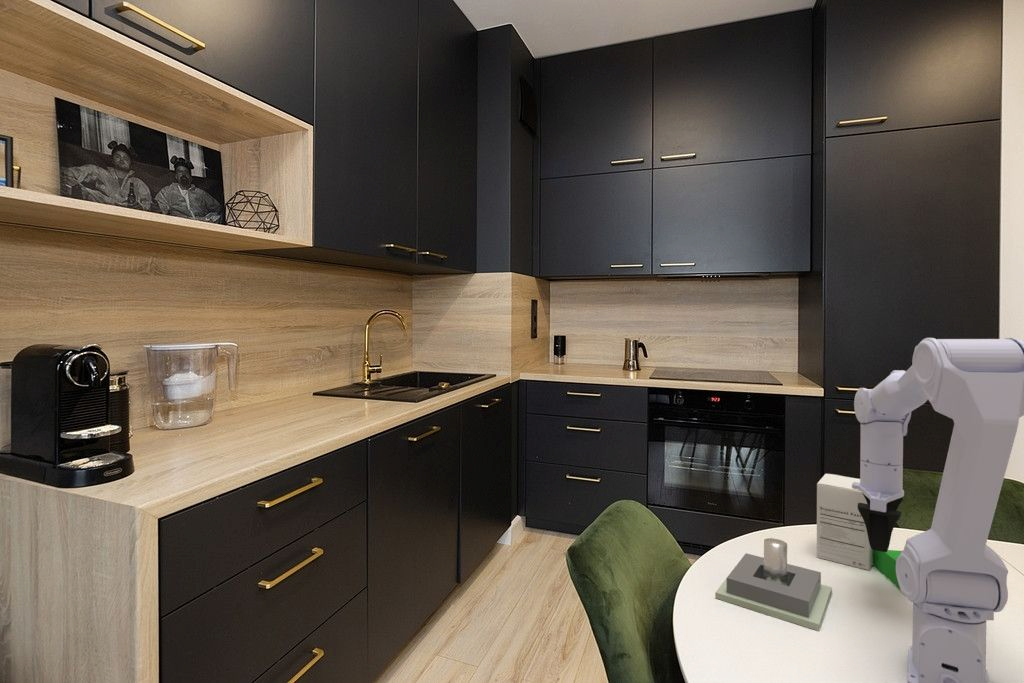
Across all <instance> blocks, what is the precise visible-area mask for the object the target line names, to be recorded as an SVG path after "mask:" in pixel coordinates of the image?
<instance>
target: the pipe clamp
mask: <svg viewBox="0 0 1024 683" xmlns="http://www.w3.org/2000/svg"><path fill="white" fill-rule="evenodd" d="M902 551H903V550H895V549H894V550H893V549H888V550H887V552H882V551H877V550H873V563H872V567H873V568H875V569H876V570H877V571H879V572H880V573H881V574H882V575H883V576H884V577H885V578H886V579H888V581H890V582H891V583H892V584H893V585H894V586H896V587H897V588H898V589H899V590H900V591H901V589H900V586H899V584H898V580H897V576H896V560H897V558H898V556H899V555H900V553H901V552H902Z"/></svg>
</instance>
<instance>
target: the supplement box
mask: <svg viewBox="0 0 1024 683" xmlns="http://www.w3.org/2000/svg"><path fill="white" fill-rule="evenodd" d="M853 482H857V483H860V478H855V477H850V476H844V475H840V474H834V473H824V475H823V476H822V477H821V478H820V479H819V481H818V482H817V483H816V557H817V558H818V559H821V560H822V559H823V560H826V561H830V562H834V563H838V564H842V565H847V566H850V567H854V568H859V569H862V570H866V571H871V569H872V567H873V549H871V547H870V544H869V539H868V534H867V529H866V526H865V523H864V520H863V518H862V516H861V514H860V512H859V510H858V503H865V504H867V501H866V499H865V497H864V495H863V493H862V492H861V491H860V490H858V489H853V488H852V483H853Z"/></svg>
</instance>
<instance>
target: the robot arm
mask: <svg viewBox="0 0 1024 683" xmlns="http://www.w3.org/2000/svg"><path fill="white" fill-rule="evenodd" d="M911 360H912V361H911V362H912V365H910V367H909V368H908V369H906V370H903V369H901V370H898V369H897V370H896V369H895V370H892V371H891V372H890V374H889V375H888V376H887V377H886V378H885V379H883V380H882V381H880V382H879V383H878V384H877V385H875V387H874V388H869V389H868V388H866V387H859V389H857V391H856V393H855V396H854V401H853V407H854V408H853V410H854V414H855V418H856V419H857V421H858V422H859V423H860V453H859V454H860V456H859V457H860V458H859V461H860V463H859V464H860V468H859V470H860V471H859V473H860V474H859V476H860V478H859V479H860V483H857V482H853V483H852V488H853V489H858V490H860V491H861V492H862V493H863V495H864V497H865V499H866V501H867V504H865V503H858V510H859V512H860V514H861V516H862V518H863V520H864V523H865V526H866V529H867V534H868V539H869V544H870V547H871V549H873V550H877V551H882V552H887V550H889V547H890V544H891V538H892V534H893V530H894V528H895V525H897V522H898V521H899V520H900V518H901V516H902V511H899V510H897V509H898V508H899V506H900V504H901V503H902V501H903V500H904V496H905V490H904V489H903V478H904V476H903V475H904V474H903V473H904V472H903V470H904V466H903V464H904V462H903V461H904V460H903V459H904V437H905V436H907V434H908V426H909V425H908V424H909V423H910V420H911V418H912V412H913V411H915V410H916V409H917V408H919V407H921V406H922V405H924V404H926V402H927V401H929V403H930V404H931V406H932V409H933V410H934V411H935V412H937V413H939V414H941V415H943V416H946V417H947V418H949V419H952V420H953V428H952V434H951V437H950V442H949V447H948V451H947V456H946V460H945V464H944V469H943V473H942V477H941V481H940V486H939V490H938V495H937V500H936V504H935V509H934V513H933V517H932V522H931V527H930V528H929V529H927V530H925V531H923V532H921V533H918V534H915V535H914V536H911V537H910V538H908V539H906V541H905V545H904V547H903V550H901V551H902V552H901V553H900V555H899V556H898V558H897V560H896V576H897V580H898V584H899V586H900V589H901V590H900V589H899V590H900V591H901V593H902V594H903V595H904V596H905V597H906V599H907V600H908V601H910V603H912V634H911V635H912V638H911V639H912V642H911V643H912V644H911V645H909V646H908V656H907V657H908V658H907V659H908V660H907V683H990V679H989V678H990V677H989V673H988V670H987V663H986V662H987V621H995V613H1000V612H1002V611H1003V610H1004V609H1005V607H1006V605H1007V603H1008V599H1009V589H1008V585H1007V584H1008V582H1007V581H1008V574H1009V570H1008V568H1007V566H1006V564H1005V562H1004V560H1003V559H1002V558H1001V557H1000V555H999V554H998V553H997V552H996V551H995V550H993V548H991V547H990V546H989V545H988V544H987V542H988V539H989V535H990V531H991V529H992V528H991V527H992V524H993V520H994V517H995V512H996V509H997V505H998V502H999V497H1000V493H1001V490H1002V486H1003V483H1004V479H1005V475H1006V472H1007V469H1008V465H1009V461H1010V457H1011V454H1012V449H1013V447H1014V444H1015V438H1016V435H1017V432H1018V428H1019V422H1020V418H1021V417H1024V340H1022V339H1020V338H1018V337H1007V338H937V339H936V338H934V337H926V338H923V339H922V340H921V341H920V342H919V343H918V344H917V345H915V347H914V351H913V355H912V359H911Z"/></svg>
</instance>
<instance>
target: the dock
mask: <svg viewBox="0 0 1024 683" xmlns="http://www.w3.org/2000/svg"><path fill="white" fill-rule="evenodd" d="M763 578H764V556H758V555H756V554H755V555H754V554H751V553H747V552H746V553H744V555H743V556H742V558H741V559H740V560H739V561H738V563H736V565H735V566H734V568H733V569H732V570H731V572H730V573H729V574H728V575H727V576H726V578H725V579H724V581H723V582H722V583H721V584H720V585H719V587H718V588H717V590H716V591H715V595H714V596H715V599H716V600H720V601H723V602H726V603H729V604H733V605H736V606H740V607H742V608H745V609H747V610H751V611H754V612H758V613H761V614H763V615H767V616H771V617H774V618H776V619H780V620H783V621H786V622H789V623H791V624H792V623H793V624H796V625H800V626H802V627H805V628H809V629H811V630H814V631H818V632H819V631H820V630H821V626H822V624H823V620H824V617H825V615H826V612H827V610H828V605H829V602H830V599H831V597H832V594H833V586H828V585H826V584H822V572H821V571H817V570H813V569H809V568H805V567H802V566H798V565H793V564H791V563H787V586H785V585H782V584H778V583H775V582H771V581H767V580H764V579H763Z"/></svg>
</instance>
